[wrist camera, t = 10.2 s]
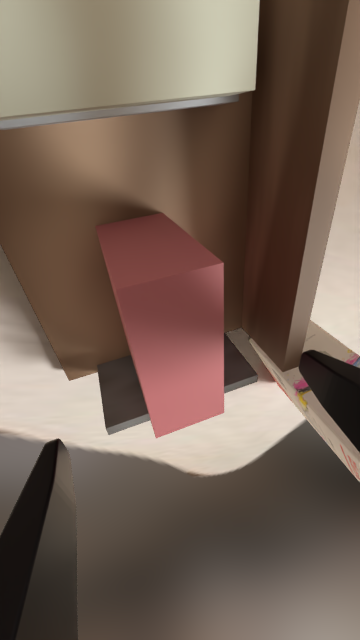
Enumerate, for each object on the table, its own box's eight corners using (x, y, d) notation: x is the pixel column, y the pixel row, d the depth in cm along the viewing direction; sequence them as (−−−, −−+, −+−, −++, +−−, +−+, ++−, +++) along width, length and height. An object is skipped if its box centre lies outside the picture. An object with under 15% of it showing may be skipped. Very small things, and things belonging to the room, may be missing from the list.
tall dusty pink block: (162, 212, 14) (223, 262, 9) (178, 331, 19) (224, 412, 14) (95, 225, 14) (115, 289, 8) (128, 346, 18) (155, 438, 13)
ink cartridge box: (315, 355, 28) (487, 509, 17) (275, 383, 29) (417, 552, 17) (294, 302, 23) (526, 474, 11) (245, 338, 23) (423, 539, 12)
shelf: (268, -4, 12) (402, -92, 7) (248, 316, 22) (299, 366, 17) (-109, 6, 9) (-303, -134, 4) (69, 370, 19) (70, 448, 14)
